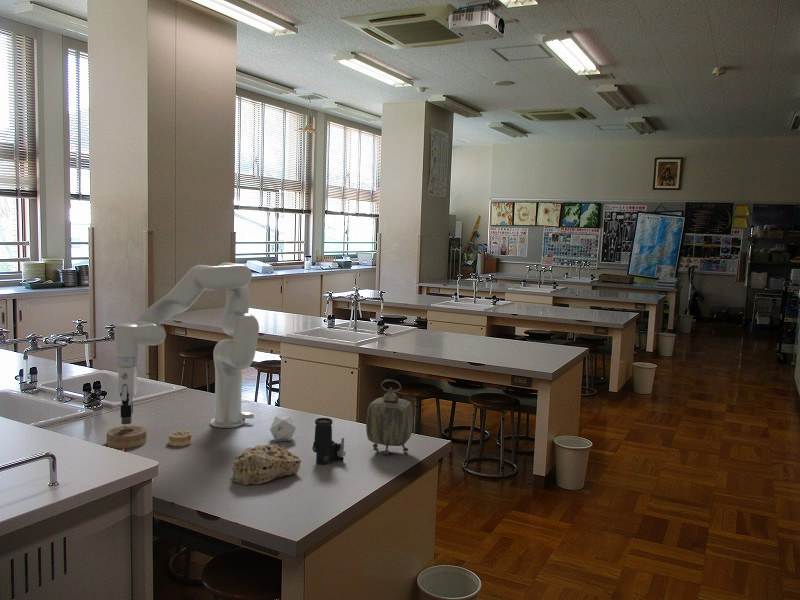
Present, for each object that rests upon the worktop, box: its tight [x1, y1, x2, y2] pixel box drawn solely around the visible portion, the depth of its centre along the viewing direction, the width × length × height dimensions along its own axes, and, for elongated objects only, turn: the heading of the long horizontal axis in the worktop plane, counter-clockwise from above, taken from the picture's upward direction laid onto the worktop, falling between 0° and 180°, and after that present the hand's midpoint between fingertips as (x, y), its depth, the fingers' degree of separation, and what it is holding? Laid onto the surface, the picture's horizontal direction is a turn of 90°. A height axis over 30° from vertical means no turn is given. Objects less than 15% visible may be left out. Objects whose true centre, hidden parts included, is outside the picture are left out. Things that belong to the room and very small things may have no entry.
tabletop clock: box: [365, 378, 415, 456], centre depth 215 cm, size 14×9×25 cm, turn 74°
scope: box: [312, 417, 346, 466], centre depth 204 cm, size 8×14×10 cm
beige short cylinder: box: [168, 430, 192, 447], centre depth 217 cm, size 7×7×3 cm
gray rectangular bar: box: [120, 394, 133, 425], centre depth 214 cm, size 3×3×12 cm
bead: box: [106, 424, 148, 449], centre depth 215 cm, size 12×12×4 cm
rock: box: [232, 443, 302, 486], centre depth 191 cm, size 21×14×10 cm
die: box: [269, 415, 297, 442], centre depth 224 cm, size 8×9×10 cm
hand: (126, 415), depth 214 cm, fingers closed on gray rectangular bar, 3 cm apart
